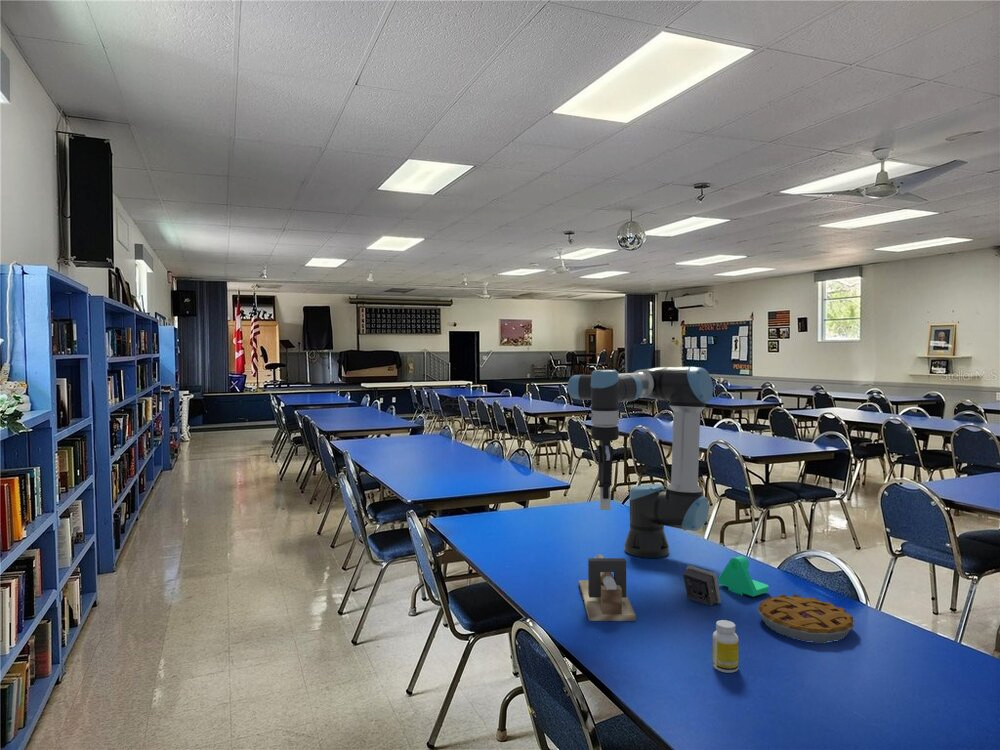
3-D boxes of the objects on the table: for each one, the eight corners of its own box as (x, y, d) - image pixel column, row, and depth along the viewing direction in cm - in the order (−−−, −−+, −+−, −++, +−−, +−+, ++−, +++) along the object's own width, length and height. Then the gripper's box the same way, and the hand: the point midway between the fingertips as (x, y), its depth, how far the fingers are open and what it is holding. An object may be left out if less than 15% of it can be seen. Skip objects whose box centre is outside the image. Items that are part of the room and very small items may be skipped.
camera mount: (770, 594, 180) (770, 559, 179) (752, 600, 176) (753, 564, 176) (735, 581, 190) (735, 548, 190) (718, 586, 186) (718, 552, 186)
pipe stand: (619, 585, 187) (619, 558, 187) (635, 620, 162) (635, 590, 162) (579, 585, 188) (579, 558, 187) (589, 620, 163) (589, 590, 162)
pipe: (604, 564, 187) (604, 553, 187) (618, 595, 163) (618, 583, 163) (593, 564, 187) (593, 553, 187) (605, 595, 163) (605, 583, 163)
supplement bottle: (743, 671, 136) (744, 627, 136) (722, 675, 135) (722, 630, 135) (728, 660, 142) (728, 617, 141) (707, 663, 140) (707, 620, 140)
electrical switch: (721, 604, 173) (720, 571, 172) (711, 610, 170) (709, 577, 169) (692, 593, 181) (690, 562, 180) (681, 600, 177) (679, 568, 177)
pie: (739, 618, 164) (739, 599, 164) (799, 604, 173) (799, 586, 173) (810, 654, 144) (810, 633, 144) (874, 636, 153) (874, 616, 153)
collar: (624, 594, 173) (624, 558, 172) (626, 597, 170) (626, 561, 170) (588, 594, 173) (588, 558, 173) (589, 597, 171) (589, 561, 170)
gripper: (588, 422, 181) (588, 503, 182) (594, 428, 168) (594, 515, 169) (614, 422, 181) (614, 503, 182) (622, 428, 168) (622, 515, 169)
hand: (605, 509), depth 175 cm, fingers closed
